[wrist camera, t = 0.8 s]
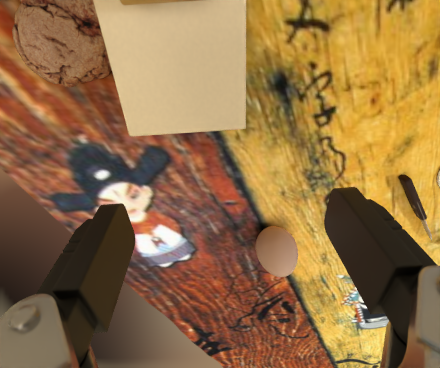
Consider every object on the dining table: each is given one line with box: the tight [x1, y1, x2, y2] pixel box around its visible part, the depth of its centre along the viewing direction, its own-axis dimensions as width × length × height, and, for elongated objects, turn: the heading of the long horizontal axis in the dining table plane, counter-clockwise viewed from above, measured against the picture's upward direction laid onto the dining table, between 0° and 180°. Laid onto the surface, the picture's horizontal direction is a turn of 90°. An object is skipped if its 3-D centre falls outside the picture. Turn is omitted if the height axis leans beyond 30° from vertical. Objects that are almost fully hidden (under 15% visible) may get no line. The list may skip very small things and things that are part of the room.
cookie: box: [12, 0, 111, 87], centre depth 26 cm, size 10×11×3 cm
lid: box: [93, 0, 246, 136], centre depth 20 cm, size 13×12×5 cm
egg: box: [256, 226, 298, 277], centre depth 41 cm, size 7×7×9 cm
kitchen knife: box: [399, 175, 432, 241], centre depth 42 cm, size 18×1×2 cm, turn 38°
